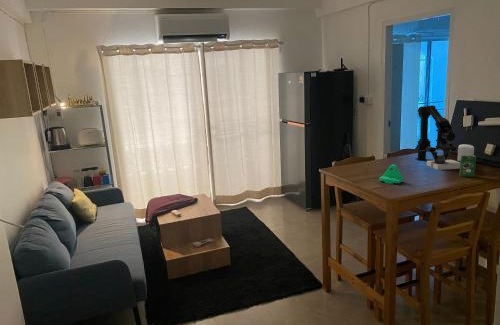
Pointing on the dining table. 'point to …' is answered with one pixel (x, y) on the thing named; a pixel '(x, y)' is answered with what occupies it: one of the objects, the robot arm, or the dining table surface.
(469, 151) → the photo printer
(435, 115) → the robot arm
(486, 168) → the dining table surface
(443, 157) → the cap
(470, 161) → the coffee box
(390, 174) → the green peaked piece
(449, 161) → the board
